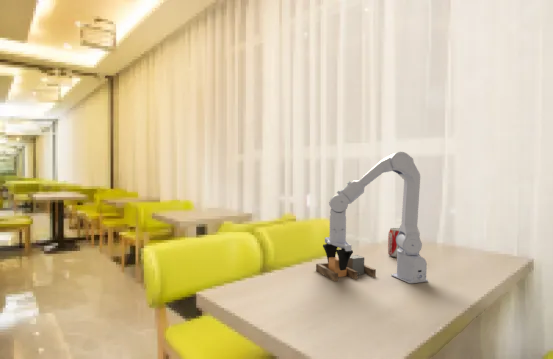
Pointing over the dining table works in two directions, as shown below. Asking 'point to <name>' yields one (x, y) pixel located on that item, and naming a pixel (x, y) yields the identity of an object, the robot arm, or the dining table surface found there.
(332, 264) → the orange block
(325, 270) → the cable comb
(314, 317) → the dining table surface
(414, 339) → the dining table surface
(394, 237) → the soda can
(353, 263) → the charcoal plug
